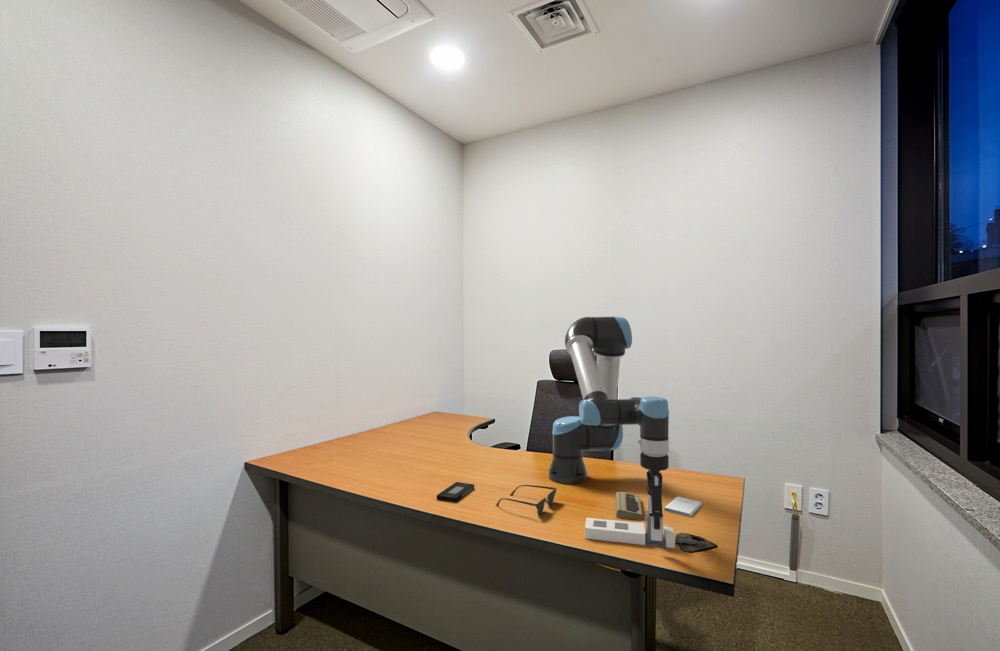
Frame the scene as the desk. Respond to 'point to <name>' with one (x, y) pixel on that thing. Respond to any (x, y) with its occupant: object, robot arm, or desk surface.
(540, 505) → the sunglasses
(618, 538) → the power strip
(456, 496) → the vhs tape
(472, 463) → the desk surface
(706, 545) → the desk surface
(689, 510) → the external hard drive
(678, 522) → the desk surface
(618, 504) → the computer
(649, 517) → the charger
